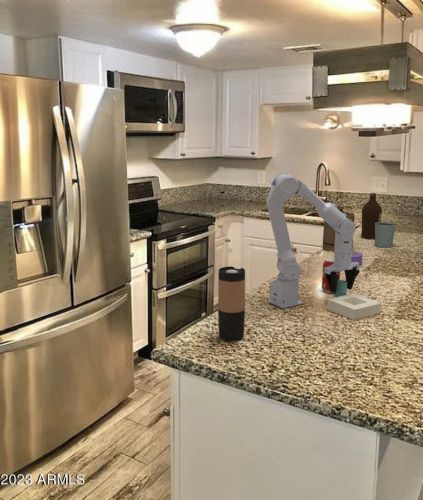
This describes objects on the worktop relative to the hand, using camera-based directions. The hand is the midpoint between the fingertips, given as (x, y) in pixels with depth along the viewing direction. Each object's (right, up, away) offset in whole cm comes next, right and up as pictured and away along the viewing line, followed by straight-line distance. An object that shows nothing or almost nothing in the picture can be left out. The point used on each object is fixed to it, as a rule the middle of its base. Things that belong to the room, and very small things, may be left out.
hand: (340, 290), depth 175 cm
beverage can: (-1, -1, +12) cm, 12 cm away
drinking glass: (+44, +16, +86) cm, 98 cm away
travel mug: (-39, -11, -30) cm, 51 cm away
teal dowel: (0, -4, +1) cm, 4 cm away
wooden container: (+19, +14, +80) cm, 84 cm away
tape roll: (+17, +8, +52) cm, 55 cm away
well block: (+2, -6, -10) cm, 11 cm away
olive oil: (+44, +21, +107) cm, 118 cm away
